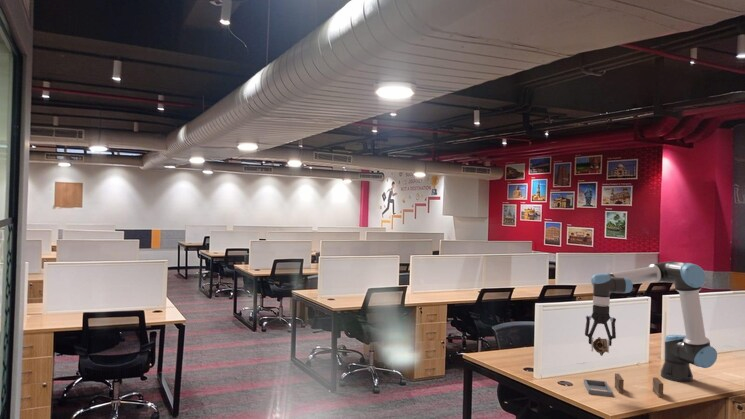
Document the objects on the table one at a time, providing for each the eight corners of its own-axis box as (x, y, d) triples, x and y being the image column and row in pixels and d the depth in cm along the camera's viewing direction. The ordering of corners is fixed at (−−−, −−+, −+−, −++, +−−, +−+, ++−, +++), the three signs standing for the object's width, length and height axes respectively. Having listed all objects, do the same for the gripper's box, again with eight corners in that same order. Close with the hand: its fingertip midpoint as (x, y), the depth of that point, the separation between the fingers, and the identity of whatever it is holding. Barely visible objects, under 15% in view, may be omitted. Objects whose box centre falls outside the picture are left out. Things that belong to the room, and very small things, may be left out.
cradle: (657, 391, 254) (657, 377, 254) (663, 398, 245) (663, 384, 245) (614, 387, 259) (614, 373, 259) (618, 393, 249) (619, 379, 249)
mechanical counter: (594, 359, 248) (593, 338, 248) (588, 353, 261) (587, 333, 261) (610, 360, 247) (609, 339, 247) (603, 353, 259) (603, 333, 260)
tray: (605, 386, 261) (605, 381, 261) (612, 397, 244) (612, 392, 244) (583, 383, 263) (583, 379, 263) (588, 394, 247) (588, 389, 247)
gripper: (620, 305, 255) (619, 351, 255) (578, 302, 260) (577, 347, 260) (624, 307, 248) (622, 355, 248) (581, 304, 253) (579, 351, 252)
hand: (599, 351), depth 254 cm, fingers closed on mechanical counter, 6 cm apart
